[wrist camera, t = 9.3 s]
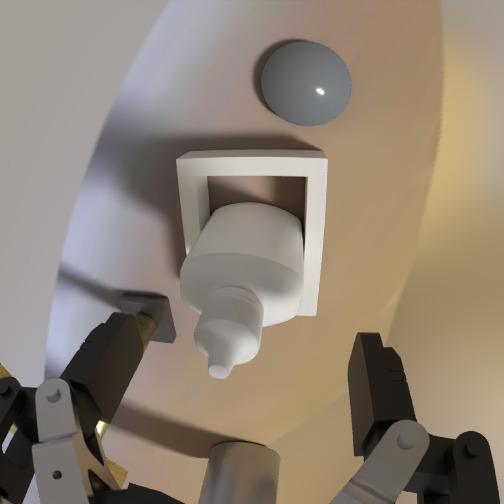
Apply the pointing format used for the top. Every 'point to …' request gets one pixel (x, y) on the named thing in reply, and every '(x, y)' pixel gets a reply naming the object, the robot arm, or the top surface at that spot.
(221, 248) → the eye dropper bottle
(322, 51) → the grey round disc
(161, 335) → the key plate
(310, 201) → the white rectangular frame
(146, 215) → the top surface
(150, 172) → the top surface
